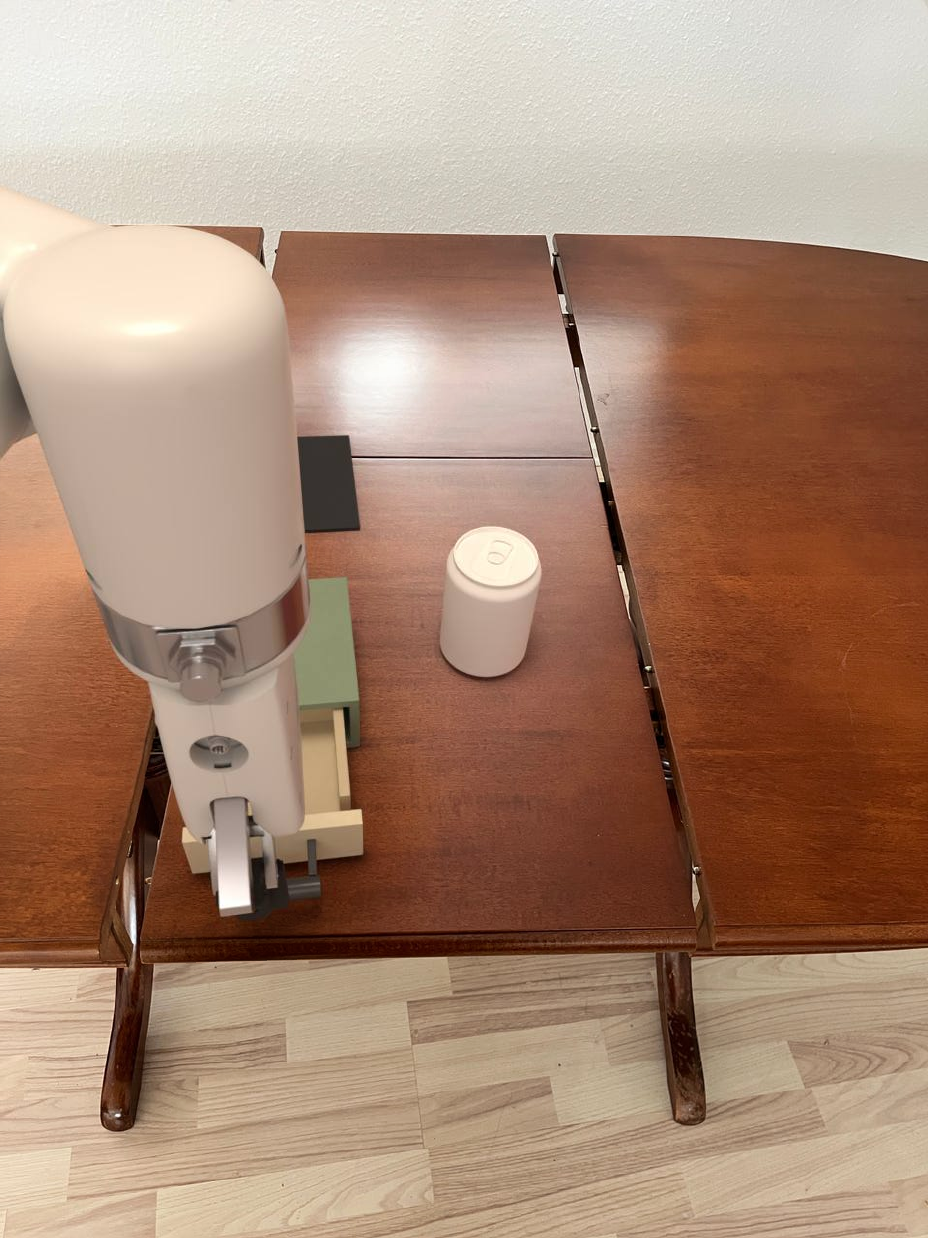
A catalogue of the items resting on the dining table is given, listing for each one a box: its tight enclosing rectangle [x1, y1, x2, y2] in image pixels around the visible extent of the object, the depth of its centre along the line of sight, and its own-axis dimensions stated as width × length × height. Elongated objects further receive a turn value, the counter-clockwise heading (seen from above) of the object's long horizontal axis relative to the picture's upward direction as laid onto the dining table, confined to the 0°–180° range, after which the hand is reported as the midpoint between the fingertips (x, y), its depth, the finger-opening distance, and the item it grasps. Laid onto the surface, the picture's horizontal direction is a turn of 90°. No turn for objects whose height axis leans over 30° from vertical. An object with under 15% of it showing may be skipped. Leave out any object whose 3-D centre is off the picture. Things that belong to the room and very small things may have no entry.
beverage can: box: [439, 525, 543, 678], centre depth 76 cm, size 8×8×12 cm
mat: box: [297, 434, 361, 534], centre depth 93 cm, size 20×16×1 cm
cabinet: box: [293, 576, 361, 749], centre depth 73 cm, size 14×14×7 cm
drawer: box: [181, 707, 364, 902], centre depth 64 cm, size 17×12×5 cm
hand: (254, 816), depth 44 cm, fingers open, 9 cm apart
